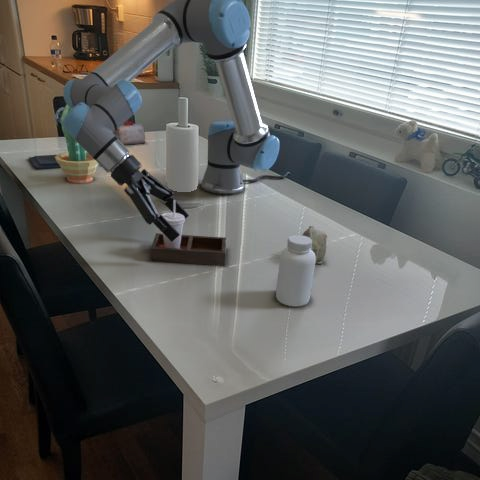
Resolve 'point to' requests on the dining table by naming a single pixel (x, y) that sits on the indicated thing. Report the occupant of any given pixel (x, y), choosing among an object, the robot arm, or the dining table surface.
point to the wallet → (44, 162)
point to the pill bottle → (296, 271)
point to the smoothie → (177, 224)
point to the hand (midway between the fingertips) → (180, 227)
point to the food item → (130, 133)
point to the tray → (190, 250)
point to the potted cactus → (74, 155)
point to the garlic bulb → (317, 242)
